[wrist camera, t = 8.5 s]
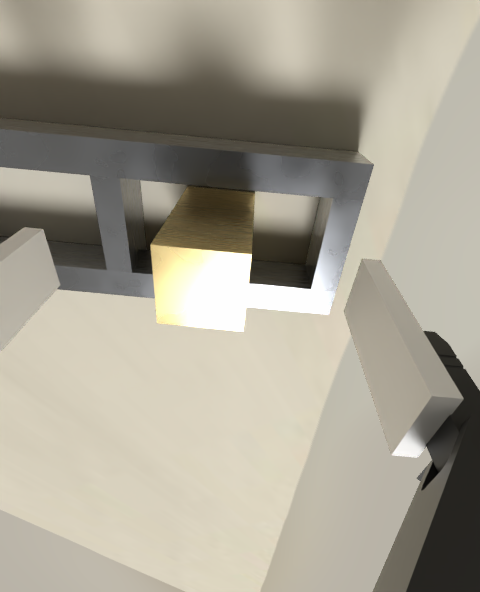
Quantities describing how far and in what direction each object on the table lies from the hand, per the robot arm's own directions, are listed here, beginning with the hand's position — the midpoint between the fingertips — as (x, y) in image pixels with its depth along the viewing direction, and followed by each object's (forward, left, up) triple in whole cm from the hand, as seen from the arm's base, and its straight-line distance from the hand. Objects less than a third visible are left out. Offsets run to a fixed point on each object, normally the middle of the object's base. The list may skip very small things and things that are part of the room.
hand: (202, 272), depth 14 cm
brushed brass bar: (+1, 0, -8) cm, 8 cm away
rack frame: (+1, -6, -8) cm, 9 cm away
